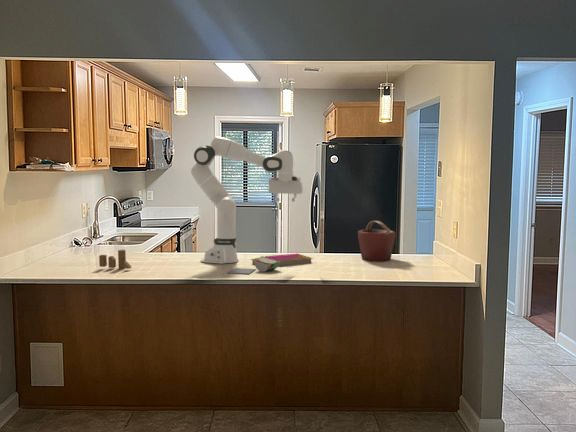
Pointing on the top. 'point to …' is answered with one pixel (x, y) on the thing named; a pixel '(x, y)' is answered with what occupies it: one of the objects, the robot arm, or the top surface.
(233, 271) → the mat
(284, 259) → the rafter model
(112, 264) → the wooden block set
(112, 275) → the top surface
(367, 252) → the bucket
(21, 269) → the top surface
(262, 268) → the food container
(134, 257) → the top surface
